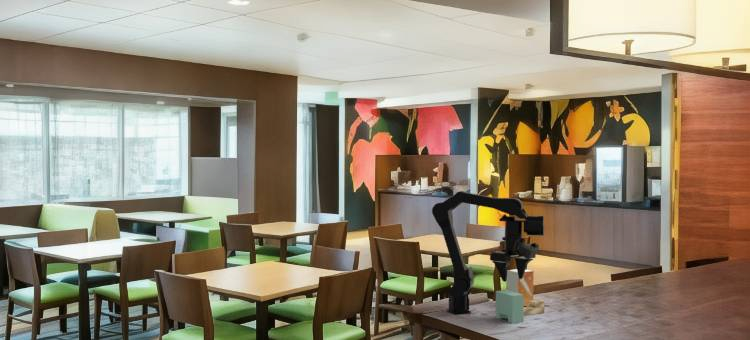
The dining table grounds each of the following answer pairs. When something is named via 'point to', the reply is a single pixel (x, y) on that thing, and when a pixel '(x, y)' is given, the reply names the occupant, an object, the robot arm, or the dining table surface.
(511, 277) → the small box
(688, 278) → the dining table surface
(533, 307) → the maple rail
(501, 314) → the teal block
